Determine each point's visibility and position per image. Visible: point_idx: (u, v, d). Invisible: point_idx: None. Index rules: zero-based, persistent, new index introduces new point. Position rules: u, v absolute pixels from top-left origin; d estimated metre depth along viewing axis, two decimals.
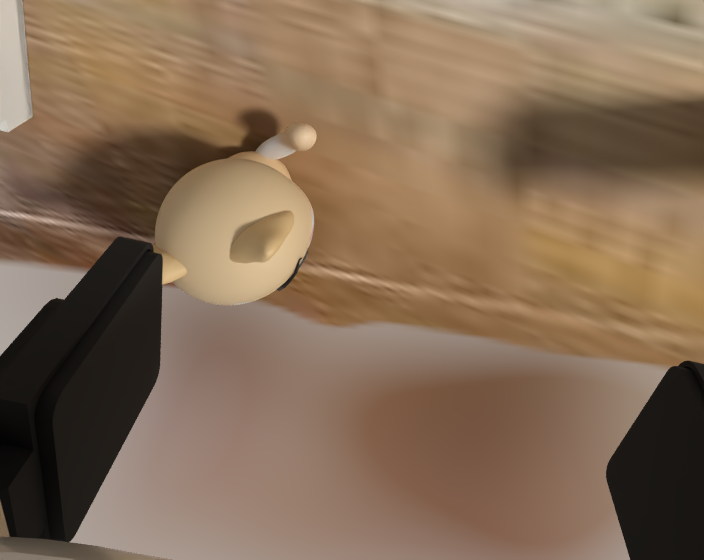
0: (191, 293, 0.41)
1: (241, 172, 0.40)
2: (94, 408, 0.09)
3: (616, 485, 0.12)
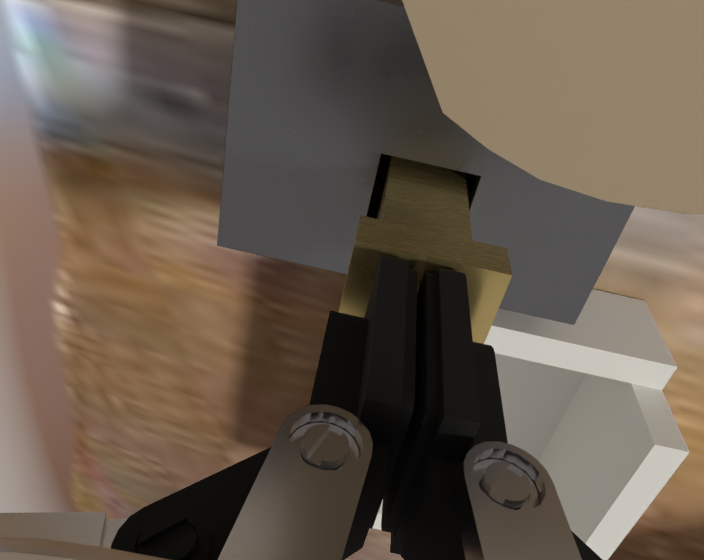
0: None
1: None
2: None
3: None
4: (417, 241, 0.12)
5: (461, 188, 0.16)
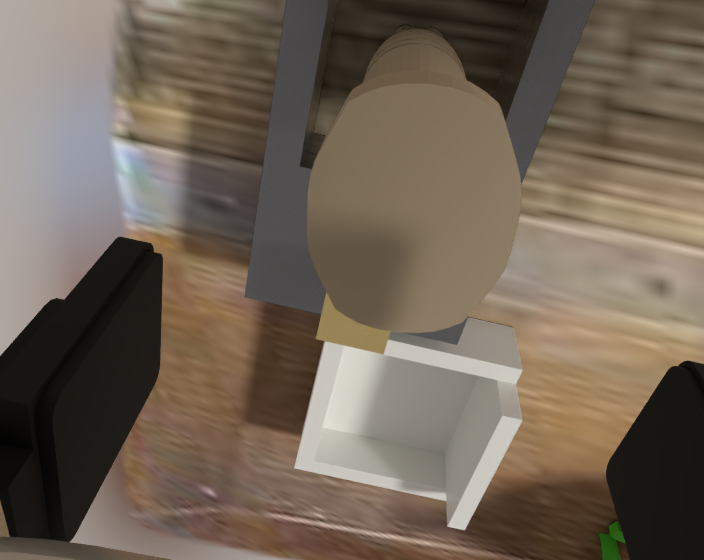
0: None
1: None
2: (94, 408, 0.09)
3: (616, 485, 0.12)
4: None
5: None
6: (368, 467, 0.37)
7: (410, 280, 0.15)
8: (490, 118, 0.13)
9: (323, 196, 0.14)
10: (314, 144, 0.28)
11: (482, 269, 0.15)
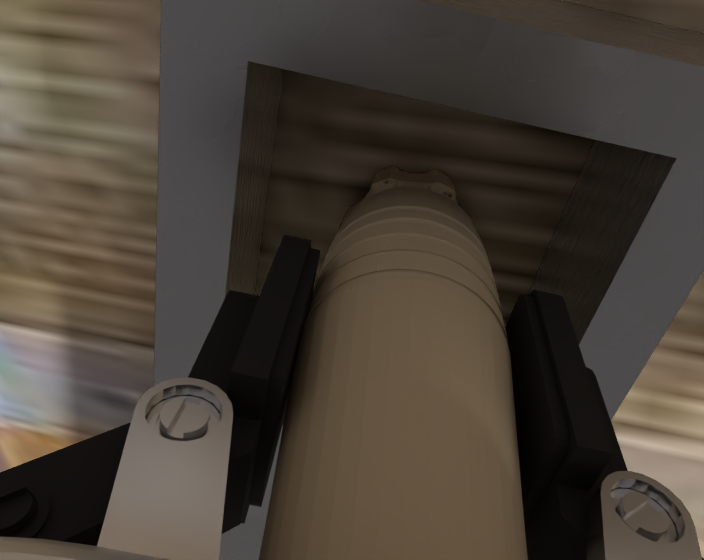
0: None
1: None
2: (286, 387, 0.10)
3: None
4: None
5: None
6: None
7: None
8: None
9: None
10: None
11: None
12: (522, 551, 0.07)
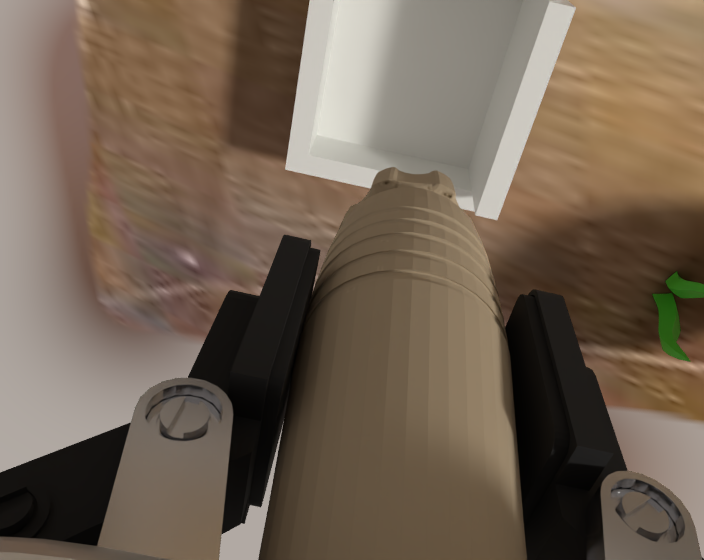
0: None
1: None
2: (286, 387, 0.10)
3: None
4: None
5: None
6: (376, 167, 0.30)
7: None
8: None
9: None
10: None
11: None
12: (521, 552, 0.07)
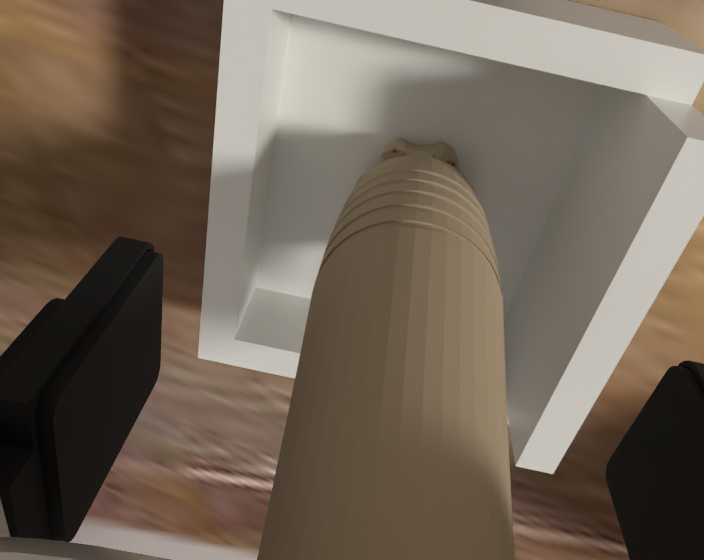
0: None
1: None
2: (94, 408, 0.09)
3: (616, 485, 0.12)
4: None
5: None
6: None
7: None
8: None
9: None
10: None
11: None
12: (503, 445, 0.09)
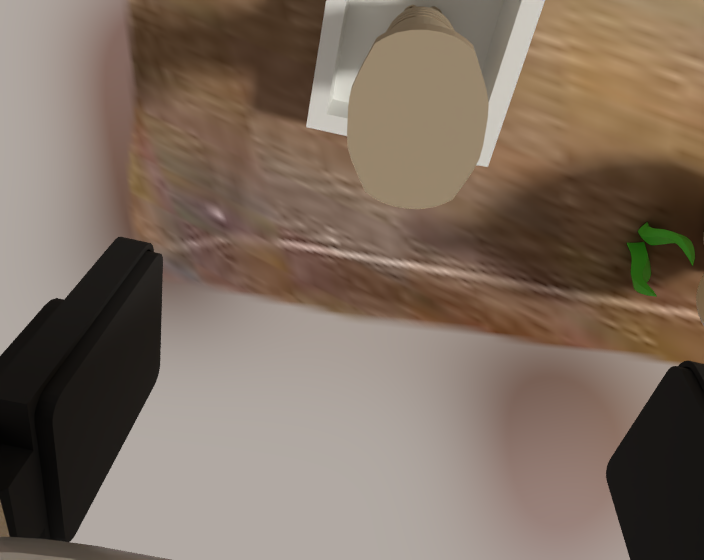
0: None
1: None
2: (94, 408, 0.09)
3: (616, 485, 0.12)
4: None
5: None
6: None
7: (416, 168, 0.23)
8: (466, 52, 0.20)
9: (358, 108, 0.22)
10: None
11: (464, 158, 0.22)
12: None
